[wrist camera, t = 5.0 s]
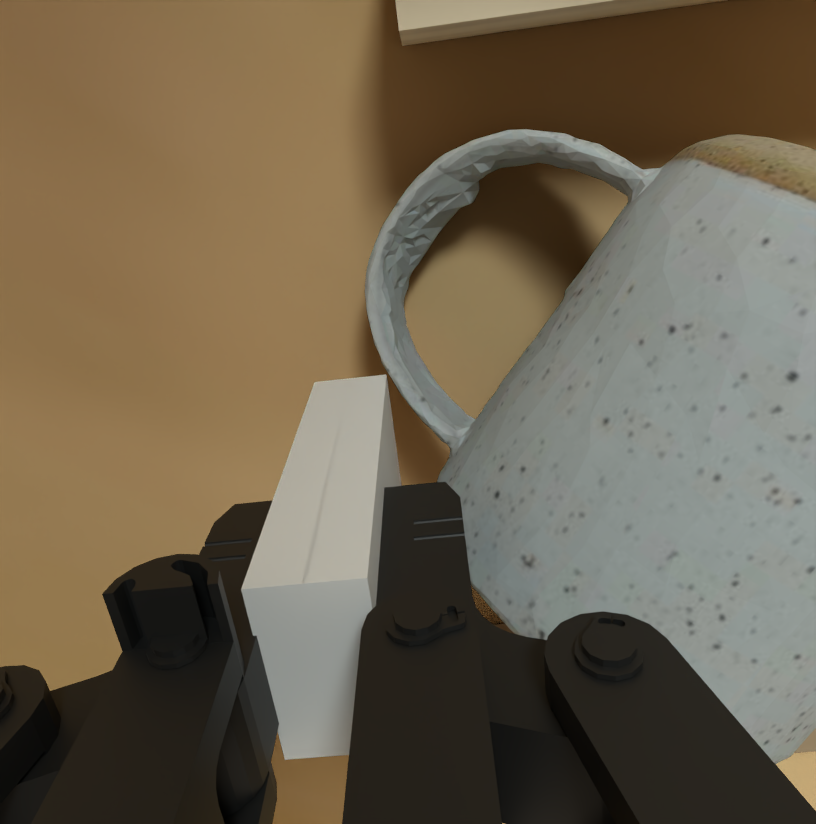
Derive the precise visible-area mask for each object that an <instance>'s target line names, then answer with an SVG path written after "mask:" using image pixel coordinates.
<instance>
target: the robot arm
mask: <svg viewBox="0 0 816 824" xmlns="http://www.w3.org/2000/svg"><path fill="white" fill-rule="evenodd" d="M102 595H103V597H104V600H105V603H106V606H107V609H108V612H109V614H110V617H111V620H112V623H113V626H114V628H115V631H116V634H117V637H118V640H119V642H120V645H121V648H122V651H123V652H122V653H121V655H120V657H119V659H118V661H117V663H116V665H115V667H114V668H113V670H112V671H110V672H107V673H104V674H102V675H99V676H97V677H93V678H90V679H87V680H84V681H81V682H78V683H75V684H71V685H68V686H65V687H62V688H59V689H56V690H52V691H50V690H49V688H48V686H47V683H46V681H45V680H44V678H43V676H42V675H41V673H40V671H39V670H36V669H33V668H30V667H28V666H25V665H22V666H4V667H0V824H272V821H273V816H274V811H275V806H276V801H277V786H276V779H275V775H274V772H273V768H272V764H271V758H272V754H273V749H274V745H275V740H276V735H277V731H278V735H279V739H280V743H281V747H282V750H283V754H284V758H285V760H289V759H302V758H315V757H327V756H341V755H349V761H348V771H347V781H346V792H345V802H344V812H343V822H342V824H502V823H505V824H816V811H815V810H814V809H813V808H812V806H811V805H810V804H809V803H808V802H807V801H806V799H805V798H804V797H803V796H802V795H801V794H800V792H799V791H798V790H797V789H796V788H795V787H794V785H793V784H792V783H791V782H790V781H789V780H788V778H787V777H786V776H785V775H784V774H783V773H782V771H781V770H780V769H779V768H778V767H777V766H776V764H775V763H774V762H773V761H772V760H771V759H770V758H769V756H768V755H767V754H766V753H765V752H764V751H763V749H762V748H761V747H760V746H759V745H758V744H757V742H756V741H755V740H754V739H753V738H752V737H751V735H750V734H749V733H748V732H747V731H746V730H745V728H744V727H743V726H742V725H741V724H740V723H739V721H738V720H737V719H736V718H735V717H734V716H733V714H732V713H731V712H730V711H729V710H728V709H727V707H726V706H725V705H724V704H723V703H722V702H721V701H720V699H719V698H718V697H717V696H716V695H715V694H714V692H713V691H712V690H711V689H710V688H709V687H708V685H707V684H706V683H705V682H704V681H703V680H702V678H701V677H700V676H699V675H698V674H697V673H696V671H695V670H694V669H693V668H692V667H691V666H690V664H689V663H688V662H687V661H686V660H685V659H684V657H683V656H682V655H681V654H680V653H679V652H678V650H677V649H676V648H675V647H674V646H673V645H672V644H671V642H670V641H669V640H668V639H667V638H666V637H665V636H664V635H662V634H661V633H660V632H659V631H658V630H656V629H655V628H654V627H653V626H651V625H650V624H648V623H646V622H644V621H641V620H639V619H636V618H634V617H631V616H629V615H626V614H619V613H611V612H604V611H601V612H593V613H584V614H579V615H577V616H574V617H572V618H570V619H567V620H565V621H563V622H561V623H560V624H559V625H558V626H557V627H556V628H555V629H554V630H553V631H552V632H551V633H550V634H549V635H548V638H547V640H544V639H538V638H531V637H526V636H521V635H517V634H513V633H509V632H507V631H505V630H503V629H501V628H499V627H496V626H494V625H493V624H492V623H490V622H489V621H488V620H487V619H485V618H484V617H483V616H482V615H481V613H480V612H479V611H478V609H477V608H476V606H475V603H474V600H473V597H472V589H471V581H470V572H469V564H468V556H467V548H466V540H465V532H464V524H463V516H462V508H461V499H460V496H459V495H458V494H457V493H456V492H455V491H454V490H453V489H452V488H451V487H450V486H449V485H448V484H447V483H446V482H436V483H426V484H416V485H405V486H402V485H401V477H400V470H399V463H398V455H397V448H396V440H395V433H394V426H393V418H392V411H391V403H390V396H389V389H388V381H387V374H386V375H376V376H367V377H358V378H348V379H338V380H329V381H320V382H314V385H313V388H312V391H311V394H310V396H309V399H308V402H307V405H306V408H305V411H304V413H303V416H302V419H301V422H300V425H299V427H298V430H297V433H296V436H295V439H294V442H293V444H292V447H291V450H290V453H289V456H288V458H287V461H286V464H285V467H284V470H283V473H282V475H281V478H280V481H279V484H278V487H277V489H276V492H275V495H274V498H273V501H264V502H254V503H243V504H235V505H234V506H232V507H231V508H230V509H229V510H228V511H227V512H226V513H225V514H223V515H222V516H221V517H220V518H219V519H218V520H217V521H216V522H215V523H214V524H213V527H212V529H211V531H210V533H209V535H208V537H207V539H206V541H205V547H203V548H202V550H201V552H200V554H199V555H194V554H176V555H171V556H166V557H161V558H156V559H154V560H151V561H149V562H146V563H144V564H141V565H139V566H136V567H134V568H133V569H131V570H129V571H128V572H126V573H125V574H123V575H122V576H120V577H119V578H117V579H116V580H115V581H114V582H113V583H112V584H111V585H110V586H109V587H108V588H107V590H106V591H105V592H104V593H103V594H102Z"/></svg>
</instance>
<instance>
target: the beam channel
mask: <svg viewBox="0 0 816 824" xmlns="http://www.w3.org/2000/svg"><path fill="white" fill-rule="evenodd" d="M395 1H396V10H397V19H398V28H399V34H400V38H401V42H402V46H406V45H413V44H420V43H427V42H434V41H441V40H448V39H456V38H463V37H470V36H477V35H484V34H491V33H498V32H505V31H512V30H520V29H527V28H534V27H541V26H548V25H555V24H562V23H569V22H577V21H584V20H591V19H598V18H605V17H612V16H619V15H626V14H633V13H641V12H648V11H655V10H662V9H669V8H676V7H683V6H690V5H697V4H705V3H712V2H719V1H726V0H395ZM494 626H496V627H499V628H501V629H503V630H505V631H507V632H509V633H513V632H512V631H511V630H510V629H509V628H508V626H507V625H506V624H496V625H494ZM513 634H515V633H513ZM813 751H816V728H815V729H814V730H813V732H812V733H811V734H810V735H809V736H808V737H807V738H806V739H805V741H804V742H803V743H802V744H801V745H800V746H799V747H798V749H797V750H796V751H795V752H794V753H800V752H813Z"/></svg>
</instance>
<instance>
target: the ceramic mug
mask: <svg viewBox="0 0 816 824" xmlns="http://www.w3.org/2000/svg"><path fill="white" fill-rule="evenodd" d="M533 163H544V164H550V165H553V166H556V167H559V168H566V169H573V170H576V171H579V172H581V173H584V174H586V175H589V176H592V177H595V178H598V179H601V180H603V181H605V182H607V183H608V184H610V185H611V186H613V187H614V188H616V189H617V190H619V191H620V192H622V193H624V194H625V195H627V196H628V203H627V205H626V206H625V207H624V209H623V210H622V211H621V213H620V214H619V216H618V217H617V218H616V220H615V221H614V223H613V224H612V226H611V227H610V229H609V231H608V232H607V233H606V235H605V236H604V238H603V239H602V241H601V242H600V243H599V245H598V246H597V248H596V249H595V251H594V252H593V253H592V255H591V256H590V258H589V260H588V261H587V262H586V264H585V265H584V267H583V268H582V270H581V271H580V273H579V274H578V275H577V276H576V278H575V279H574V280H573V281H572V283H571V284H570V285H569V287H568V288H567V289H566V290H565V295H564V300H563V301H562V302H561V303H560V305H559V306H558V307H557V309H556V310H555V311H554V313H553V314H552V316H551V317H550V318H549V320H548V321H547V322H546V324H545V325H544V327H543V328H542V329H541V331H540V332H539V334H538V335H537V336H536V338H535V339H534V341H533V342H532V343H531V344H530V345H529V346H528V348H527V349H526V350H525V352H524V353H523V354H522V356H521V357H520V358H519V360H518V361H517V362H516V364H515V365H514V366H513V368H512V369H511V370H510V372H509V373H508V374H507V376H506V377H505V379H504V380H503V381H502V383H501V384H500V386H499V388H498V389H497V391H496V392H495V393H494V395H493V396H492V397H491V399H490V400H489V401H488V403H487V404H486V405H485V407H484V408H483V410H482V412H481V413H480V414H479V416H478V417H477V419H474V418H472V417H470V416H468V415H467V414H466V413H465V412H464V411H463V410H462V409H461V408H460V407H459V406H458V405H457V404H456V403H455V402H453V401H452V399H451V398H450V397H449V396H448V395H447V394H446V393H445V392H444V390H443V389H442V388H441V387H440V386H439V385H438V384H437V382H436V381H435V380H434V378H433V377H432V375H431V373H430V372H429V370H428V369H427V367H426V365H425V364H424V362H423V361H422V359H421V358H420V356H419V354H418V353H417V351H416V349H415V346H414V344H413V341H412V339H411V336H410V333H409V330H408V328H407V326H406V318H405V311H404V298H405V294H406V292H407V290H408V287H409V278H410V276H411V274H412V272H413V270H414V269H415V267H416V266H417V265H418V264H419V262H420V261H421V259H422V258H423V256H424V255H425V253H426V252H427V250H428V249H429V247H430V246H431V244H432V243H433V241H434V240H435V238H436V237H437V235H438V233H439V232H440V231H441V230H442V228H443V227H444V226H445V225H446V224H447V222H448V221H449V220H450V219H451V218H452V217H453V216H454V214H455V213H456V212H457V211H458V210H459V209H460V208H462V207H464V206H466V205H468V204H471V203H473V202H474V200H475V198H476V196H477V194H478V192H479V180H481V179H482V178H483V177H485V176H486V175H487V174H489V173H491V172H493V171H495V170H497V169H499V168H504V167H513V166H522V165H528V164H533ZM365 297H366V308H367V316H368V320H369V323H370V327H371V331H372V336H373V340H374V344H375V346H376V348H377V350H378V352H379V354H380V358H381V362H382V364H383V366H384V367H385V369H386V371H387V372H388V374H389V375H390V377H391V379H392V380H393V382H394V383H395V385H396V387H397V388H398V390H399V392H400V393H401V395H402V396H403V398H404V399H405V400H406V401H407V403H408V404H409V405H410V406H411V408H412V409H413V410H414V412H415V413H416V414H417V415H418V416H419V417H420V419H421V420H422V421H423V422H424V423H425V424H426V425H427V426H428V427H430V428H431V429H432V430H433V432H434V433H435V434H436V435H437V436H438V437H439V438H440V439H441V441H443V442H445V443H446V444H448V446H449V447H450V455H449V459H448V461H447V462H446V464H445V466H444V467H443V469H442V470H441V472H440V475H439V477H438V480H437V482H446V483H447V484H448V485H449V486H450V487H451V488H452V489H453V490H454V491H455V492H456V493H457V494H458V495H459V496H460V499H461V508H462V516H463V524H464V532H465V540H466V548H467V556H468V564H469V572H470V581H471V585H472V587H473V588H474V589H475V590H476V591H477V592H478V593H479V594H480V595H481V597H482V598H483V599H484V600H485V601H486V603H487V604H488V605H489V606H490V608H491V609H492V610H493V611H494V612H495V613H496V614H497V615H498V616H499V618H500V619H501V620H502V621H503V622H504V623H505V624H506V625H507V626H508V628H509V629H510V630H511V631H512V632H513V633H515V634H517V635H521V636H526V637H531V638H538V639H544V640H547V638H548V635H549V634H550V633H551V632H552V631H553V630H554V629H555V628H556V627H557V626H558V625H559V624H560V623H561V622H563V621H565V620H567V619H570V618H572V617H574V616H577V615H579V614H584V613H593V612H601V611H604V612H611V613H619V614H626V615H629V616H631V617H634V618H636V619H639V620H641V621H644V622H646V623H648V624H650V625H651V626H653V627H654V628H655V629H656V630H658V631H659V632H660V633H661V634H662V635H664V636H665V637H666V638H667V639H668V640H669V641H670V642H671V644H672V645H673V646H674V647H675V648H676V649H677V650H678V652H679V653H680V654H681V655H682V656H683V657H684V659H685V660H686V661H687V662H688V663H689V664H690V666H691V667H692V668H693V669H694V670H695V671H696V673H697V674H698V675H699V676H700V677H701V678H702V680H703V681H704V682H705V683H706V684H707V685H708V687H709V688H710V689H711V690H712V691H713V692H714V694H715V695H716V696H717V697H718V698H719V699H720V701H721V702H722V703H723V704H724V705H725V706H726V707H727V709H728V710H729V711H730V712H731V713H732V714H733V716H734V717H735V718H736V719H737V720H738V721H739V723H740V724H741V725H742V726H743V727H744V728H745V730H746V731H747V732H748V733H749V734H750V735H751V737H752V738H753V739H754V740H755V741H756V742H757V744H758V745H759V746H760V747H761V748H762V749H763V751H764V752H765V753H766V754H767V755H768V756H769V758H770V759H771V760H772V761H773V762H774V763H775V764H776V763H778V762H780V761H782V760H784V759H786V758H789V757H790V756H791V755H792V754H793V753H794V752H795V751H796V750H797V749H798V747H799V746H800V745H801V744H802V743H803V742H804V741H805V739H806V738H807V737H808V736H809V735H810V734H811V733H812V732H813V730H814V729H815V728H816V150H815V149H812V148H809V147H806V146H802V145H798V144H794V143H790V142H786V141H782V140H778V139H774V138H769V137H759V136H750V135H740V134H734V135H726V136H721V137H717V138H713V139H708V140H704V141H700V142H697V143H695V144H693V145H691V146H689V147H687V148H685V149H683V150H682V151H680V152H679V153H678V154H677V155H676V156H674V157H673V158H672V159H671V160H670V161H668V162H667V163H666V164H665V165H664V166H662V167H661V168H653V169H641V168H639V167H637V166H636V165H634V164H633V163H631V162H630V161H628V160H627V159H625V158H623V157H621V156H620V155H618V154H616V153H614V152H612V151H610V150H609V149H607V148H605V147H604V146H602V145H600V144H597V143H593V142H589V141H585V140H581V139H577V138H575V137H572V136H570V135H568V134H565V133H557V132H547V131H537V130H529V129H518V130H506V131H502V132H499V133H495V134H492V135H488V136H485V137H482V138H478V139H474V140H471V141H470V142H468V143H466V144H464V145H462V146H460V147H458V148H456V149H453V150H451V151H449V152H447V153H445V154H444V155H442V156H441V157H439V158H438V159H437V160H435V161H434V162H433V163H432V164H431V165H430V166H429V167H428V168H427V169H426V170H425V171H423V172H422V173H421V174H419V175H418V177H417V178H416V179H415V180H414V181H413V182H412V183H411V185H410V186H409V187H408V188H407V190H406V191H405V192H404V194H403V195H402V196H401V198H400V199H399V201H398V202H397V204H396V205H395V207H394V209H393V210H392V212H391V213H390V215H389V216H388V218H387V219H386V221H385V223H384V224H383V226H382V227H381V230H380V232H379V235H378V237H377V240H376V242H375V245H374V248H373V250H372V253H371V256H370V258H369V262H368V266H367V272H366V283H365Z"/></svg>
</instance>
